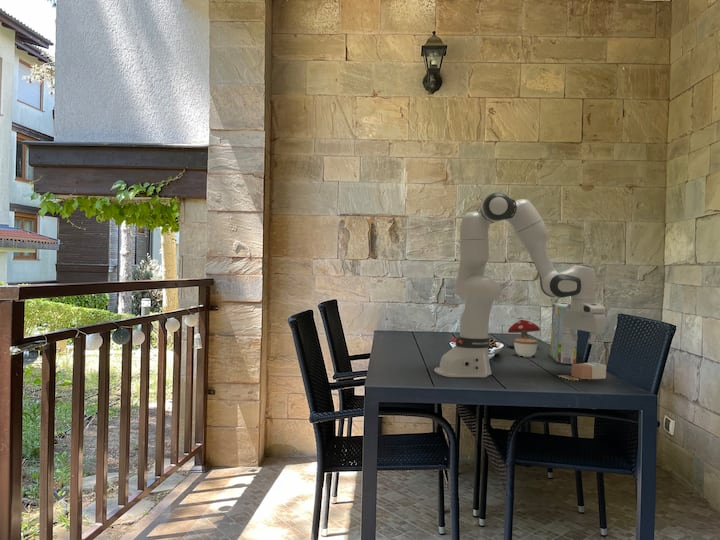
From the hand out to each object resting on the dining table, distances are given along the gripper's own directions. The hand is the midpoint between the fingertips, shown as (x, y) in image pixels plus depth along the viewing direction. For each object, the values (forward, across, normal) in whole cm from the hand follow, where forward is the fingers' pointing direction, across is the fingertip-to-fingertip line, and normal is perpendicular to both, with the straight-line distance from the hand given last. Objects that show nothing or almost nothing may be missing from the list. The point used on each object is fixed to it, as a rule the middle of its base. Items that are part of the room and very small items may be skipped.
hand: (582, 342), depth 201 cm
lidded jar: (+14, -46, +6) cm, 49 cm away
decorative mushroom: (+14, -67, +19) cm, 71 cm away
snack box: (+14, -34, +18) cm, 41 cm away
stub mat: (+14, 0, -6) cm, 15 cm away
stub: (+14, 0, 0) cm, 14 cm away
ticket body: (+14, 0, +5) cm, 15 cm away
